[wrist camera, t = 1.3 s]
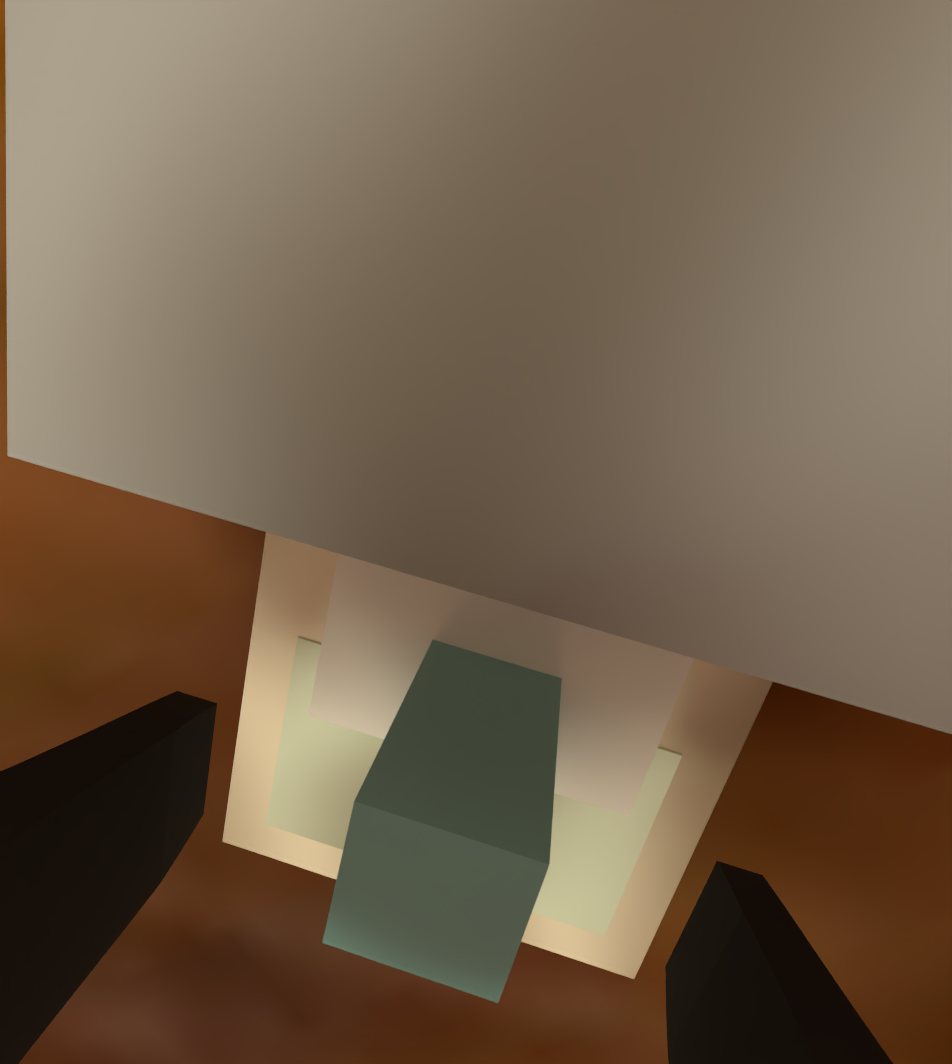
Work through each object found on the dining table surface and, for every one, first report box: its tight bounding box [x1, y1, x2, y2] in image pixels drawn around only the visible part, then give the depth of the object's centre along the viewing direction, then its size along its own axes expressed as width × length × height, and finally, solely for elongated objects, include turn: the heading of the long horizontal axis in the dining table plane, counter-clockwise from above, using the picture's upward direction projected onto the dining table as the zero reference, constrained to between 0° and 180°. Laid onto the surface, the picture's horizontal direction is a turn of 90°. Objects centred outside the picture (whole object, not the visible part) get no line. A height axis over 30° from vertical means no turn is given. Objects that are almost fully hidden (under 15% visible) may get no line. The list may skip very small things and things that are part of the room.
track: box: [5, 0, 952, 979], centre depth 9 cm, size 10×24×8 cm, turn 166°
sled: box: [309, 553, 694, 1003], centre depth 8 cm, size 6×14×5 cm, turn 166°
